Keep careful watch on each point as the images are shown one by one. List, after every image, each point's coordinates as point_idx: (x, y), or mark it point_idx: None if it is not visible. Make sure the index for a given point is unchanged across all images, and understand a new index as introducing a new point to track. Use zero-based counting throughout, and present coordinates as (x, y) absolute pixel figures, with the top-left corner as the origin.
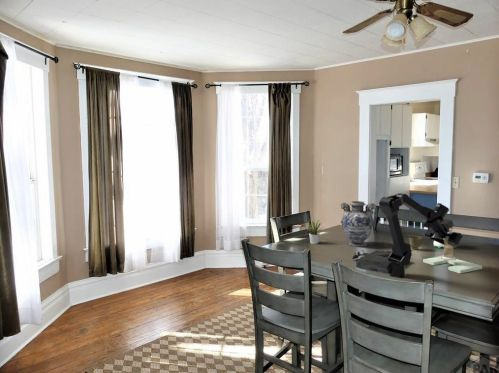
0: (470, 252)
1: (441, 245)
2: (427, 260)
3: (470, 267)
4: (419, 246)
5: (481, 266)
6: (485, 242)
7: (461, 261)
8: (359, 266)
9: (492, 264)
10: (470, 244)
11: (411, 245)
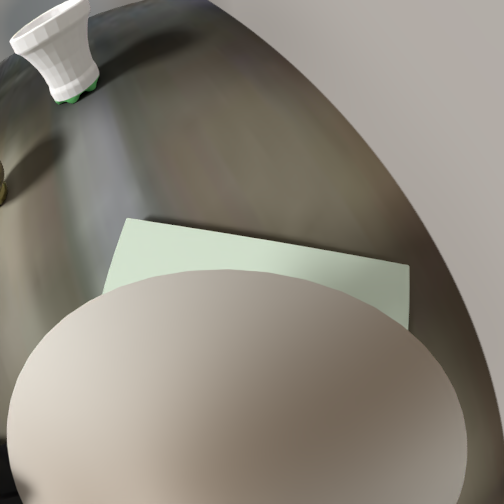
0: (195, 66)
1: (79, 89)
2: None
3: None
4: (1, 183)
5: (408, 273)
6: (187, 4)
7: (279, 270)
8: None
9: (368, 154)
10: (160, 24)
11: None
